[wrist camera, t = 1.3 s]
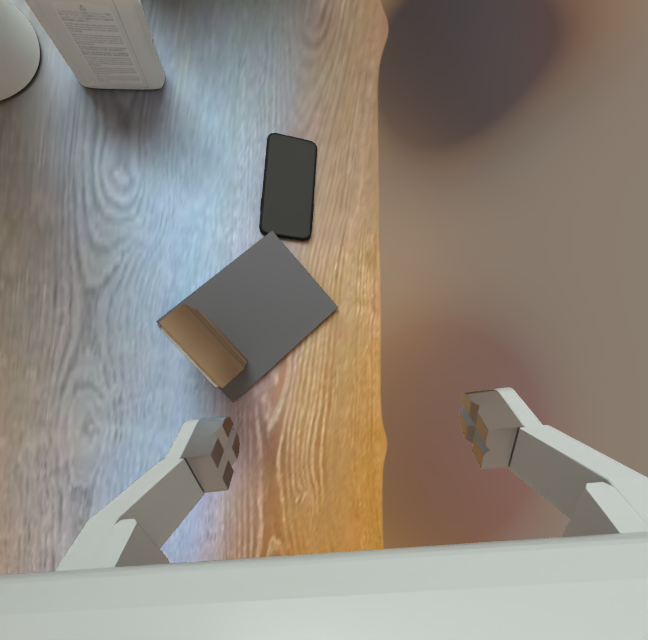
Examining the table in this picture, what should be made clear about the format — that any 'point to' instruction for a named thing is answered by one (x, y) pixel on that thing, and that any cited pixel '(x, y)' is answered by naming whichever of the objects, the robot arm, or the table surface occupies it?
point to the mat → (261, 307)
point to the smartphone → (288, 187)
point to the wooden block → (204, 344)
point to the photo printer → (103, 41)
